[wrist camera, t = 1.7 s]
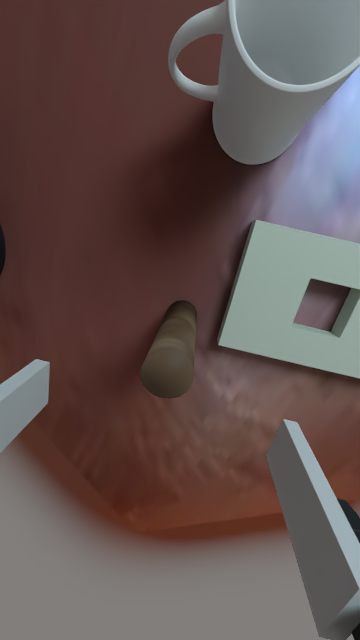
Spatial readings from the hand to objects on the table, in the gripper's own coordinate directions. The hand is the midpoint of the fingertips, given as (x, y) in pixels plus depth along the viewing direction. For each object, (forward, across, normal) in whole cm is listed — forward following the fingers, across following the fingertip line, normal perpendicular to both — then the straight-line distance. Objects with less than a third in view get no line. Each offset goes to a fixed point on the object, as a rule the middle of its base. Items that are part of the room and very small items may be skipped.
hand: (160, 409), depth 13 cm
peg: (+17, 0, 0) cm, 17 cm away
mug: (+17, +1, +21) cm, 27 cm away
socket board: (+17, +15, +5) cm, 23 cm away
